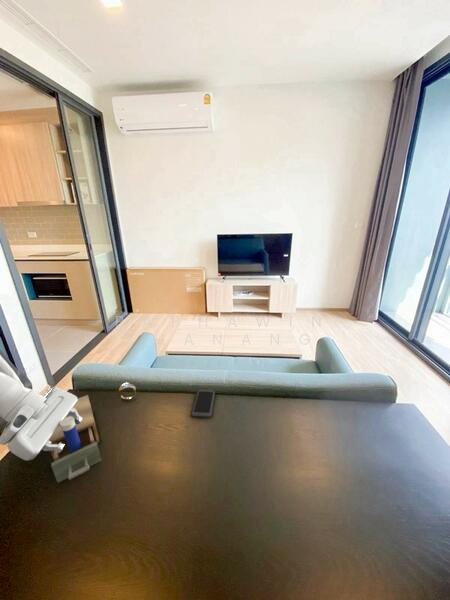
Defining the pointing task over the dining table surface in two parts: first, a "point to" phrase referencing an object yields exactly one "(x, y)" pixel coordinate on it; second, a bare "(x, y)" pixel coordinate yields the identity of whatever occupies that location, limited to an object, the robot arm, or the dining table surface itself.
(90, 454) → the drawer
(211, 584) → the dining table surface
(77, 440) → the disc
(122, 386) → the ring
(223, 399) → the dining table surface
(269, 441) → the dining table surface
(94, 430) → the cabinet
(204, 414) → the cell phone
